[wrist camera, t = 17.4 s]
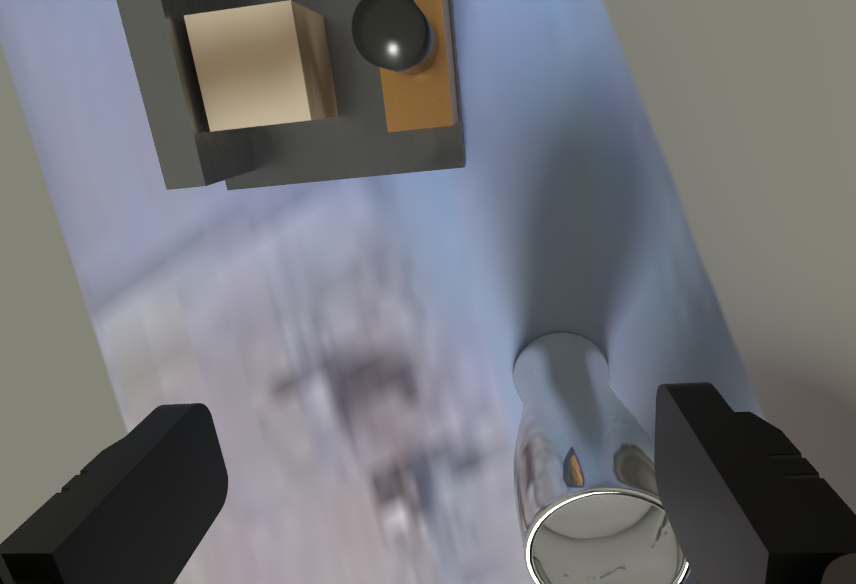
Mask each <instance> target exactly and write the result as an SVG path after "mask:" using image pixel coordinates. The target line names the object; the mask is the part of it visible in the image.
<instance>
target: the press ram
mask: <svg viewBox="0 0 856 584" xmlns="http://www.w3.org/2000/svg"><path fill="white" fill-rule="evenodd" d="M352 36H353V40H354V44H355V46H356V48H357V50H358V51H359V53H360V54H361V55H362V57H363V58H364V59H365V60H367V61H368V62H369V63H371V64H373V65H375V66H377V67H380V74H381V82H382V90H383V98H384V106H385V114H386V122H387V130H388V132H396V131H405V130H415V129H424V128H433V127H443V126H452V125H454V124H455V123H456V122H458V109H457V97H456V85H455V73H454V62H453V50H452V38H451V26H450V14H449V2H448V0H361V1H360V2H359V4H358V5H357V7H356V9H355V12H354V14H353V18H352Z"/></svg>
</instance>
